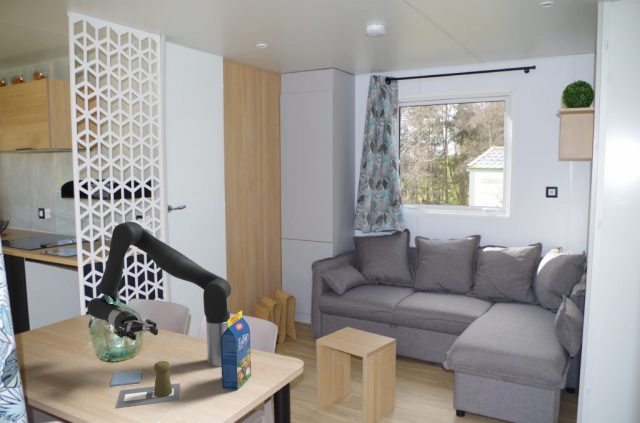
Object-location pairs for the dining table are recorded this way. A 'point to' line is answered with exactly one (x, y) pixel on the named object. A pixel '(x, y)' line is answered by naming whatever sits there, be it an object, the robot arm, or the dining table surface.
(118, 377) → the pad
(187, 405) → the dining table surface
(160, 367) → the cork
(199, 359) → the dining table surface
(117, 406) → the label mat
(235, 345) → the blue food package
